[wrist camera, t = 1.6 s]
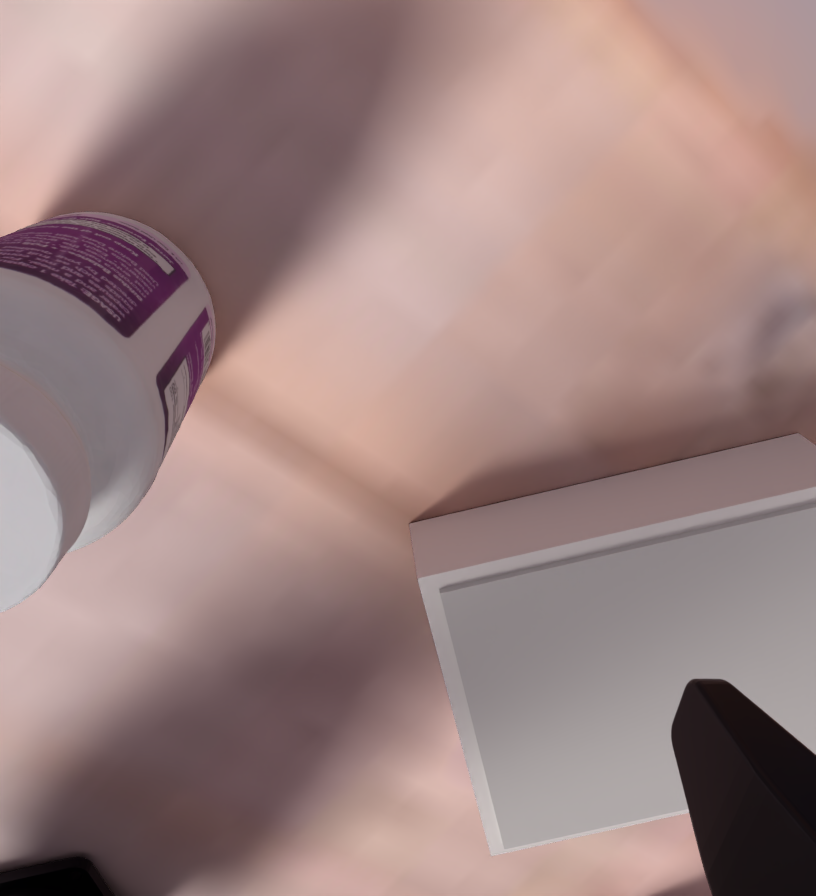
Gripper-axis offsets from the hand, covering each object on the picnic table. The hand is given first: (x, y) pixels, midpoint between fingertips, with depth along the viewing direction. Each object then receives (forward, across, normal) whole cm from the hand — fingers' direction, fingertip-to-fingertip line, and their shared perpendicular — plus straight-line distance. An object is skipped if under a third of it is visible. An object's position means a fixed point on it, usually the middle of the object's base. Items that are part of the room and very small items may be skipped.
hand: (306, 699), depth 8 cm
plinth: (+12, -10, +10) cm, 18 cm away
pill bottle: (+12, +6, 0) cm, 14 cm away
